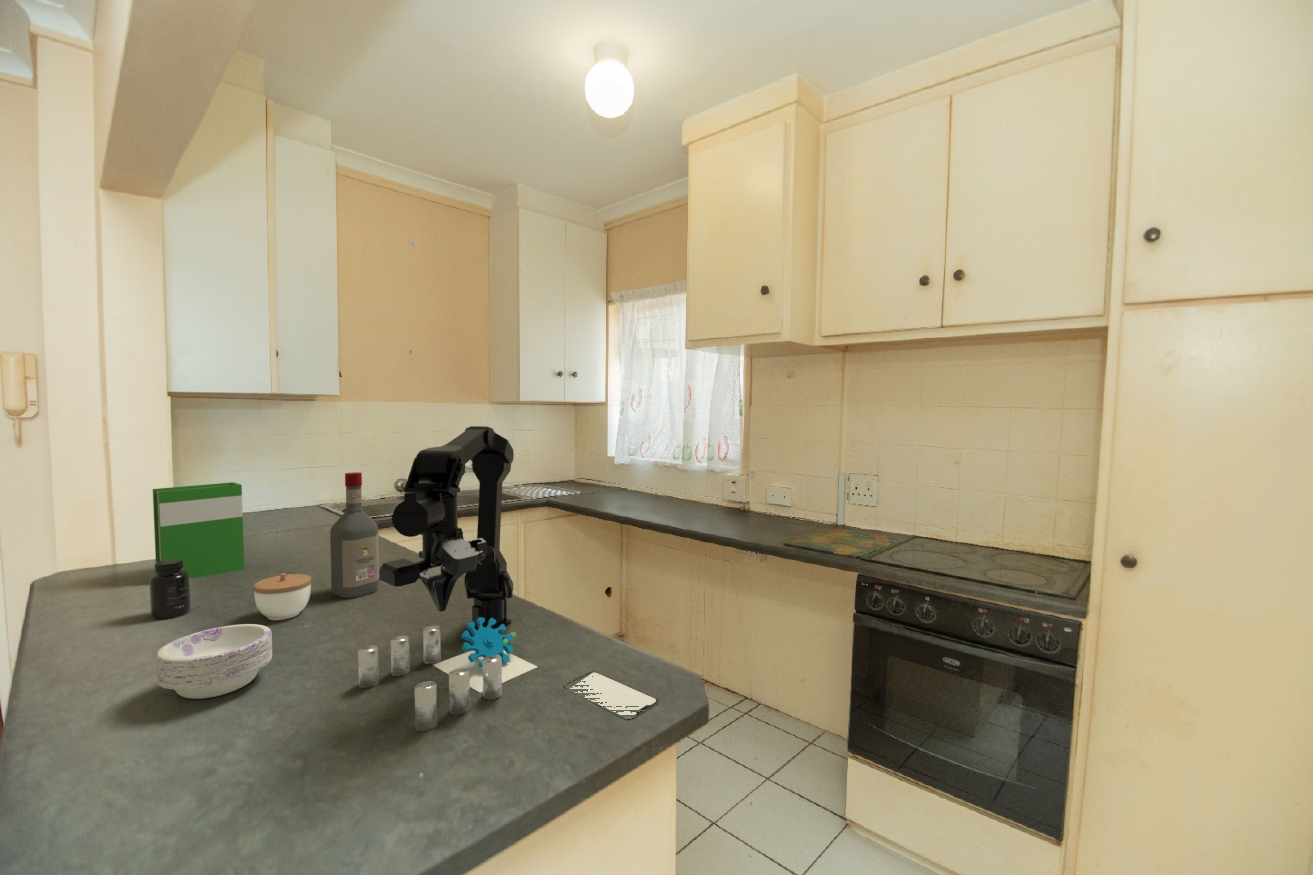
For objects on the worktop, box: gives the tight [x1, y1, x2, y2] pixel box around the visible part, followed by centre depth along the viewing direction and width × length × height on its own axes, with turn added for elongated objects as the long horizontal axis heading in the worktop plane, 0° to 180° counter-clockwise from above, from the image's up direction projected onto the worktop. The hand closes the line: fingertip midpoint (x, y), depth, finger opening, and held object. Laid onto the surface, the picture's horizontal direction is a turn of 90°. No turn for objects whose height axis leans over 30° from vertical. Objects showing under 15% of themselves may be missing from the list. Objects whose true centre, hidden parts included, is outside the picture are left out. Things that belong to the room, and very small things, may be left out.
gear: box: [460, 617, 517, 669], centre depth 104 cm, size 11×6×10 cm
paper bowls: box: [155, 623, 273, 700], centre depth 94 cm, size 15×15×8 cm
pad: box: [432, 649, 538, 694], centre depth 102 cm, size 12×15×1 cm
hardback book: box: [152, 481, 245, 579], centre depth 154 cm, size 18×7×24 cm, turn 141°
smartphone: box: [562, 671, 659, 720], centre depth 93 cm, size 8×1×16 cm
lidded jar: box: [253, 572, 312, 621], centre depth 125 cm, size 11×11×9 cm
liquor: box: [329, 471, 380, 599], centre depth 140 cm, size 9×9×30 cm
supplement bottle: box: [148, 559, 192, 620], centre depth 125 cm, size 7×7×12 cm
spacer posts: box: [357, 625, 503, 732], centre depth 94 cm, size 14×22×6 cm, turn 51°
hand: (441, 610), depth 98 cm, fingers closed
